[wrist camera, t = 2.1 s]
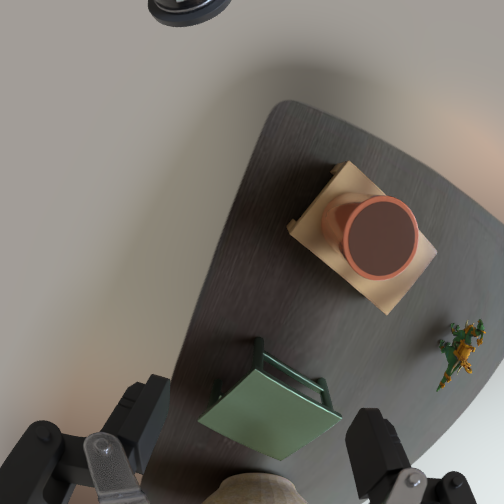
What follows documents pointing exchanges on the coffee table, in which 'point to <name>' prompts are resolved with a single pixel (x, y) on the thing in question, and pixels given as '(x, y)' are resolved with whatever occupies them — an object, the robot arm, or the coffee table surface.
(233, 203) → the coffee table surface
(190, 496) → the coffee table surface
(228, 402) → the green miniature table
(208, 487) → the coffee table surface
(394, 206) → the cup
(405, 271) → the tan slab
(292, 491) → the vase
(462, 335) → the figurine
